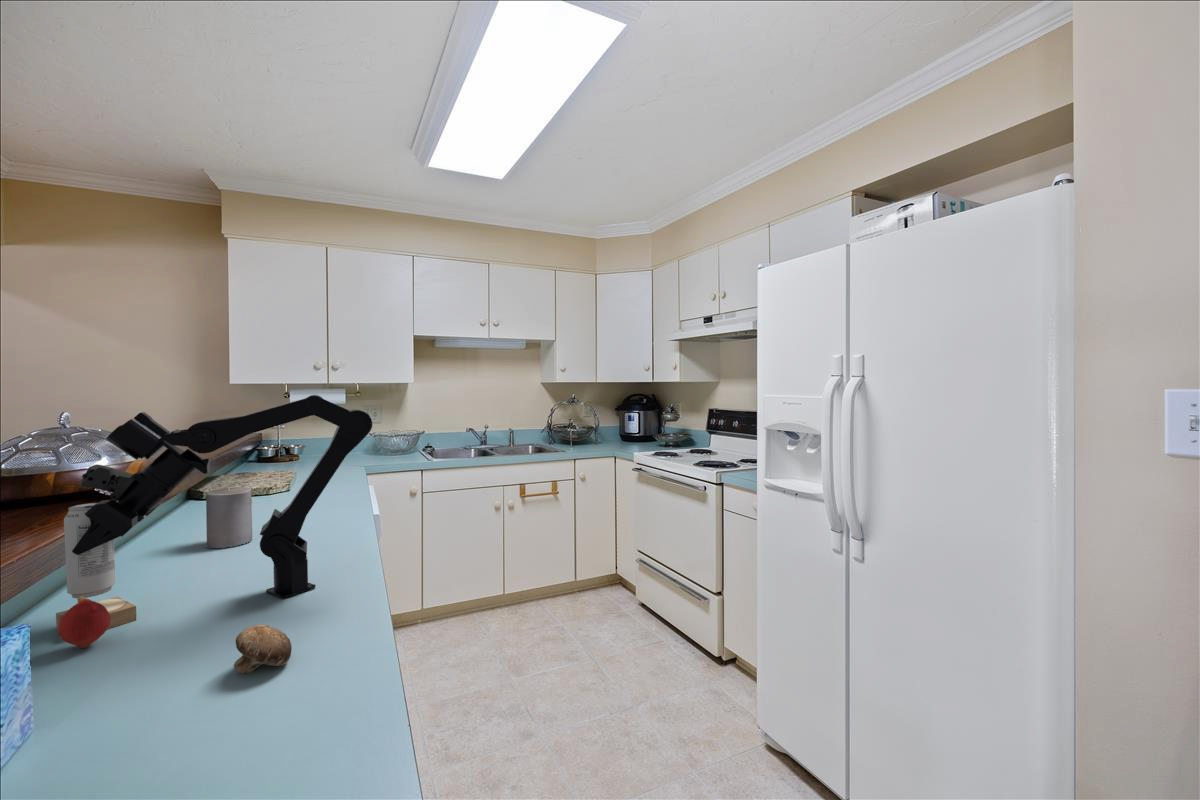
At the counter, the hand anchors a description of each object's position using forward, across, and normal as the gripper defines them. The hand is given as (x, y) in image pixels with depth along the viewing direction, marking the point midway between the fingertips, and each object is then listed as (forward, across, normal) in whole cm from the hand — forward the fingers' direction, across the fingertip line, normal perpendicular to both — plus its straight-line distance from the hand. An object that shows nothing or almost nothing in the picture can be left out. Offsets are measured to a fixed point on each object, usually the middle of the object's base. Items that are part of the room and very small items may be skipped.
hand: (82, 548), depth 90 cm
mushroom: (-10, +31, +29) cm, 44 cm away
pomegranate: (+7, +11, +11) cm, 17 cm away
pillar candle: (-1, -44, +21) cm, 48 cm away
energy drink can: (+5, 0, +6) cm, 8 cm away
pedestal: (+8, +1, +10) cm, 13 cm away
